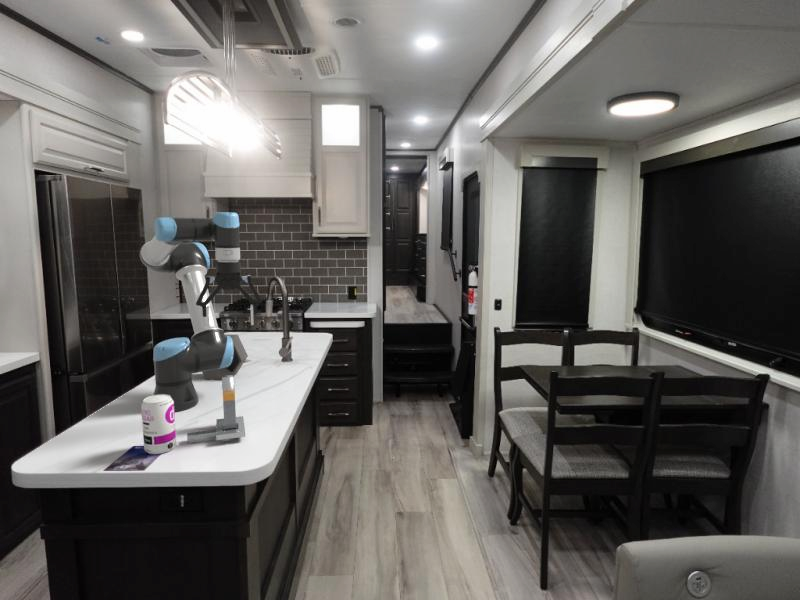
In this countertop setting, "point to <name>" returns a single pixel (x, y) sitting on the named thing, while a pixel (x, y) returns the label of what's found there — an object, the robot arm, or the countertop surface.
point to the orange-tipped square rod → (229, 410)
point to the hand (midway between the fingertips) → (230, 325)
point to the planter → (234, 367)
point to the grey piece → (220, 422)
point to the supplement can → (158, 424)
